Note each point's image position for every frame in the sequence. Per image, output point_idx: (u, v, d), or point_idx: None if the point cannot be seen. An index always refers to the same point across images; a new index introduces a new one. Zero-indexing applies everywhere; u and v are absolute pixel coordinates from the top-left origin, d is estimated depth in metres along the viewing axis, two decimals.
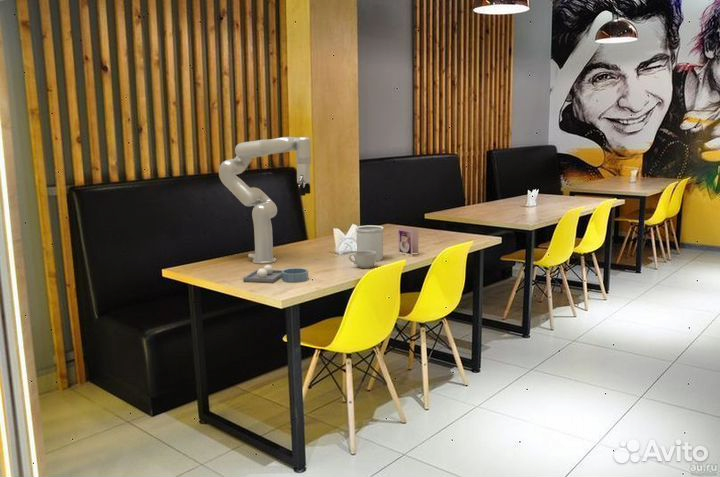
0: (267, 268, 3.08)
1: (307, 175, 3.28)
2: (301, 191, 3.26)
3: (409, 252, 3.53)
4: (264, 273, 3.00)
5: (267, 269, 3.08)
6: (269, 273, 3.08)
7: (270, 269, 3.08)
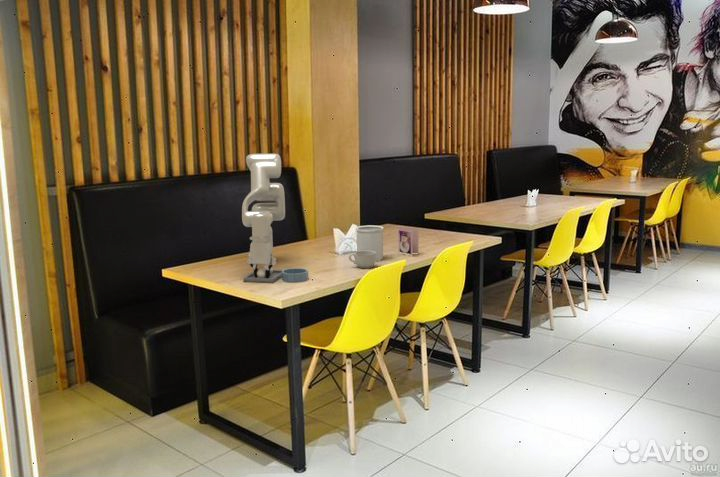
0: None
1: None
2: (269, 273, 3.01)
3: (409, 252, 3.53)
4: (264, 273, 3.00)
5: None
6: None
7: (270, 269, 3.08)
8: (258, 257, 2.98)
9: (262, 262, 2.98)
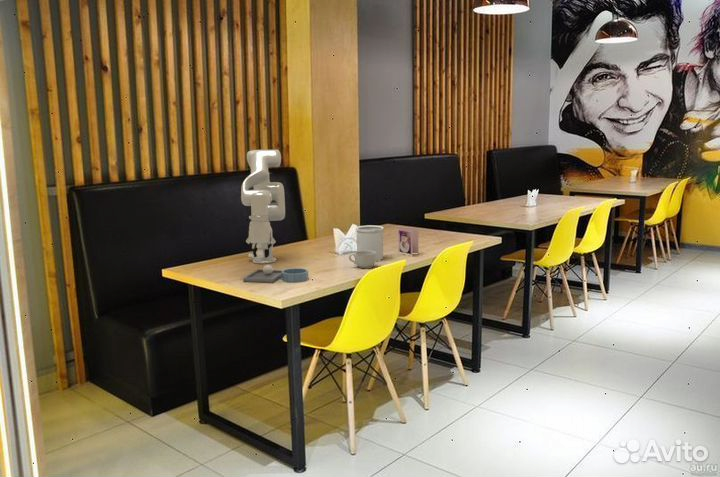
0: (267, 268, 3.08)
1: None
2: (268, 252, 3.00)
3: (409, 252, 3.53)
4: (263, 252, 2.99)
5: (267, 269, 3.08)
6: (269, 273, 3.08)
7: (270, 269, 3.08)
8: (257, 236, 2.97)
9: (261, 241, 2.97)
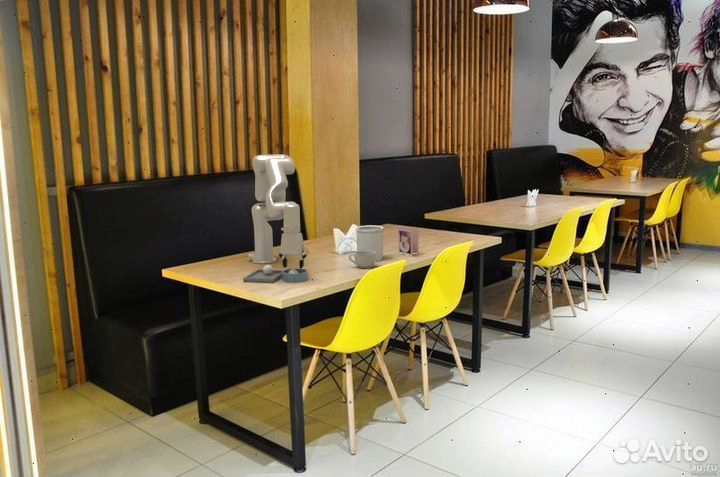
0: (267, 268, 3.08)
1: None
2: (303, 263, 2.99)
3: (409, 252, 3.53)
4: None
5: (267, 269, 3.08)
6: (269, 273, 3.08)
7: (270, 269, 3.08)
8: (290, 248, 2.96)
9: (294, 253, 2.96)
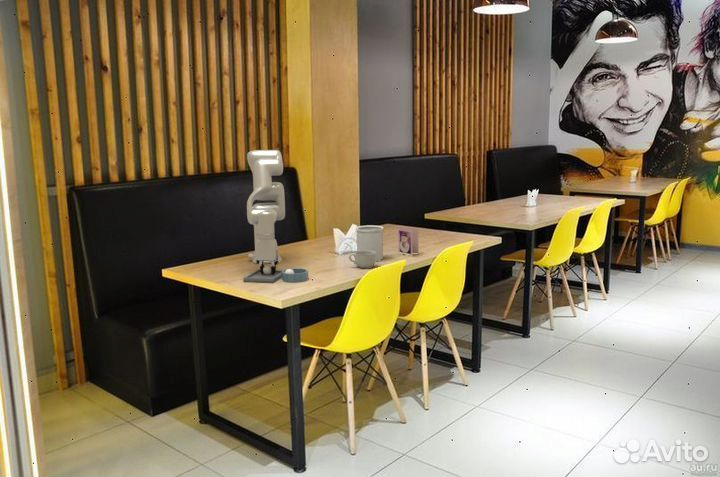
0: (267, 268, 3.08)
1: None
2: (275, 269, 3.09)
3: (409, 252, 3.53)
4: (290, 271, 2.99)
5: (267, 269, 3.08)
6: (269, 273, 3.08)
7: (270, 269, 3.08)
8: (264, 254, 3.06)
9: (268, 259, 3.06)
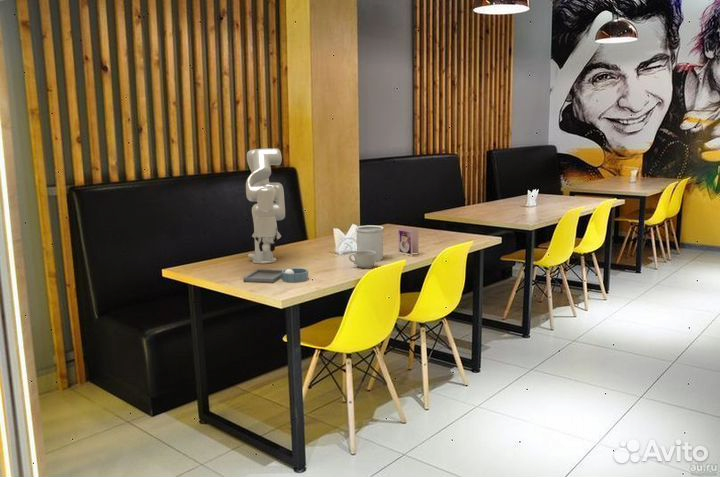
0: (266, 245, 3.06)
1: None
2: (274, 246, 3.07)
3: (409, 252, 3.53)
4: (289, 271, 2.99)
5: (266, 246, 3.06)
6: (268, 250, 3.07)
7: (269, 246, 3.06)
8: (263, 231, 3.04)
9: (267, 235, 3.04)
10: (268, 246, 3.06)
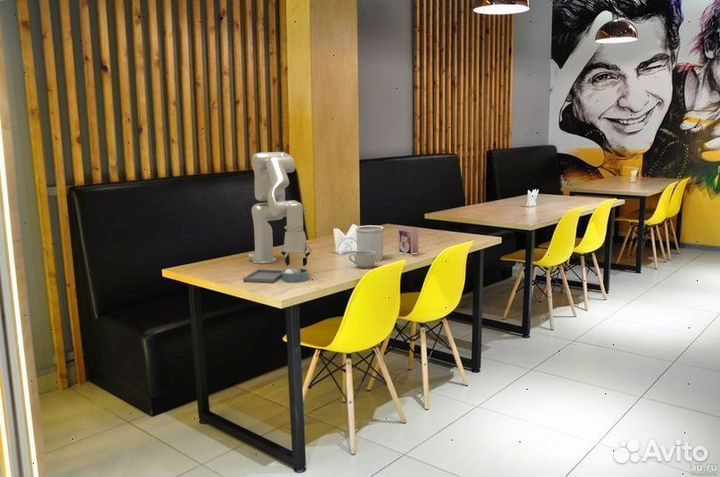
0: (295, 270, 3.03)
1: None
2: (306, 261, 3.03)
3: (409, 252, 3.53)
4: (289, 271, 2.99)
5: (295, 271, 3.03)
6: None
7: (298, 271, 3.03)
8: (293, 246, 3.00)
9: (297, 251, 3.00)
10: (297, 271, 3.03)
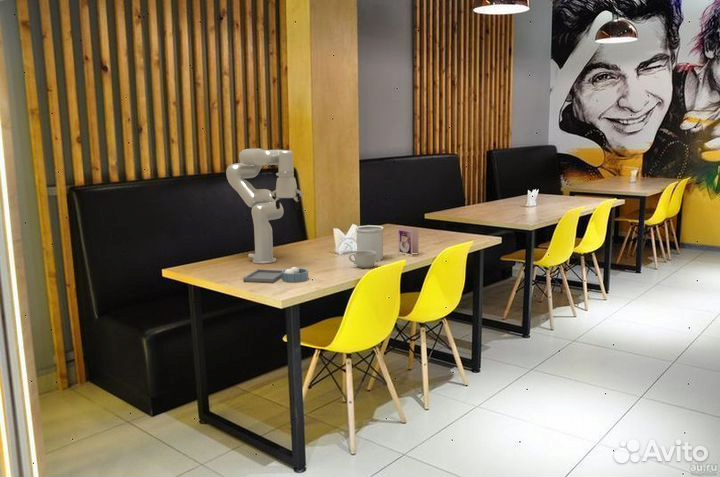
0: (292, 269, 3.04)
1: None
2: (298, 205, 3.22)
3: (409, 252, 3.53)
4: (289, 271, 3.00)
5: (293, 270, 3.04)
6: (296, 273, 3.04)
7: (296, 269, 3.04)
8: (284, 191, 3.19)
9: (288, 196, 3.19)
10: (294, 269, 3.04)
